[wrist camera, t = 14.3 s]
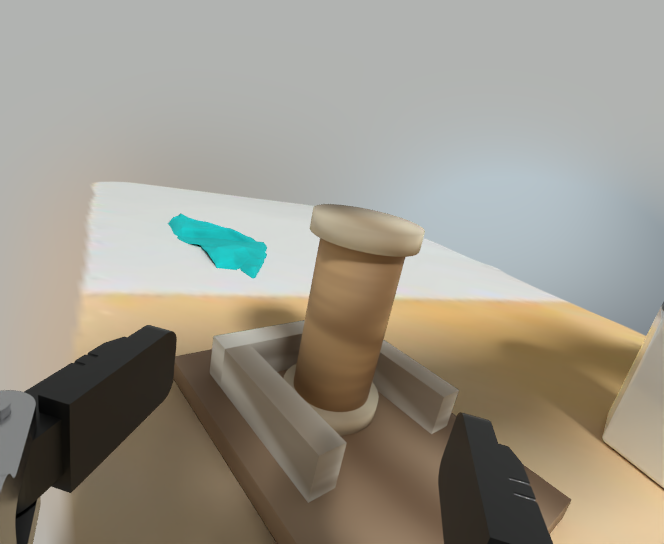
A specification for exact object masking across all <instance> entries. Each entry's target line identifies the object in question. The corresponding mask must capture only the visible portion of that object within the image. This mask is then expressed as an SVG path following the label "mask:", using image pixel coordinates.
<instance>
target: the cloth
mask: <svg viewBox="0 0 664 544" xmlns="http://www.w3.org/2000/svg"><path fill="white" fill-rule="evenodd" d="M168 224H169V226H170V227H171V228H172V231H173V233H174V234H175V235H177V236H178V237H177V238H178V239H179V240H181V241H183V242H186V243H188V244H198V245H201V247H202V248H203V249H204V250H205V251H207V253H208V254H209V256H210V257H211V259H212V260H213V262H214V263H215V265H216V267H217V268H223V269H233V270H237V269H239V268H240V269H241V271H243V272H244V273H246V274H247V275H248V276H250V277H251V278H255V277H256V275H257V273H258V272H259V270H260V268H261V266H262V265H263V263H264V259H265V258H266V256H267V254H266V253H265V251H266V249H267V247H266V245H265V244H264V242H256V241H255V240H253V239H252V238H251V237H247V236H245V235H243V234H241V233H240V232H237V231H235V230H233V229H230V228H224V227H221V226H218V225H215V224H212V223H208V222H203V221H197V220H194V219H191V218H188V217H186V216H184V215H183V214H180V215H179V216H176V217H173V218H172V219H171V221H170V222H169V223H168Z"/></svg>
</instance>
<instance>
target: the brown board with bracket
mask: <svg viewBox="0 0 664 544" xmlns="http://www.w3.org/2000/svg"><path fill="white" fill-rule="evenodd" d="M304 322H305V320H303V321H297V322H292V323H286V324H280V325H274V326H269V327H263V328H257V329H251V330H246V331H240V332H234V333H228V334H223V335H217V336H214V337H213V346H212V349H211V350H206V351H201V352H196V353H191V354H186V355H181V356H176V357H175V365H174V378H173V379H174V380H175V382H176V383H177V385H178V387H179V388H180V390H181V391H182V393H183V394H184V396H185V398H186V399H187V401H188V402H189V404H190V406H191V407H192V409H193V410H194V412H195V414H196V415H197V417H198V418H199V420H200V422H201V423H202V425H203V426H204V428H205V429H206V431H207V433H208V434H209V436H210V437H211V439H212V441H213V442H214V444H215V445H216V447H217V449H218V450H219V452H220V453H221V455H222V456H223V458H224V460H225V461H226V463H227V464H228V466H229V468H230V469H231V471H232V472H233V474H234V476H235V477H236V479H237V480H238V482H239V484H240V485H241V487H242V488H243V490H244V491H245V493H246V495H247V496H248V498H249V499H250V501H251V503H252V504H253V506H254V507H255V509H256V511H257V512H258V514H259V515H260V517H261V518H262V520H263V522H264V523H265V525H266V526H267V528H268V530H269V531H270V533H271V534H272V536H273V538H274V539H275V541H276V542H277V544H444V539H443V528H442V518H441V508H440V497H439V487H438V475H439V468H440V463H441V459H442V456H443V453H444V450H445V447H446V445H447V442H448V439H449V436H450V433H451V431H452V428H453V425H454V422H455V419H456V417H457V416H455V415H454V414H453V413H451V412H452V409H453V406H454V403H455V401H456V398H457V395H458V392H459V390H458V389H457V388H455V387H454V386H452V385H451V384H449V383H448V382H446V381H445V380H443V379H442V378H440V377H439V376H437V375H436V374H434V373H433V372H431V371H430V370H428V369H427V368H425V367H424V366H422V365H421V364H419V363H418V362H416V361H415V360H413V359H412V358H410V357H409V356H407V355H406V354H404V353H403V352H401V351H400V350H398V349H397V348H395V347H394V346H392V345H391V344H389V343H388V342H386V341H385V340H383V343H382V347H381V350H380V354H379V358H378V362H377V365H376V369H375V373H374V377H373V381H372V382H373V383H374V385H375V386H376V388H377V391H378V396H379V398H378V403H377V407H376V411H375V414H374V418H373V420H372V422H371V423H370V424H369V425H368V426H367V427H366V428H365V429H363V430H361V431H359V432H357V433H354V434H350V435H339V434H338V433H337V432H336V431H335V430H334V429H333V428H332V427H331V426H330V425H329V424H328V423H327V422H326V421H325V420H324V419H323V418H322V417H321V416H320V415H319V414H318V413H317V412H316V411H315V410H314V409H313V408H312V407H311V406H310V405H309V404H308V403H307V402H306V401H305V400H304V399H303V398H302V397H301V396H300V395H299V394H298V393H297V392H296V391H295V390H294V389H293V388H292V387H291V386H290V385H289V384H288V383H287V382H286V381H285V380H284V379H283V378H284V375H285V373H286V371H287V370H288V369H289V368H290V367H291V366H293V365H294V364H296V363H297V359H298V354H299V349H300V343H301V338H302V333H303V327H304ZM523 466H524V465H523ZM524 469H525V471H526V474H527V476H528V479H529V482H530V486H531V487H532V490H533V492H534V495H535V498H536V500H535V501H536V502H537V503H538V505H539V508H540V511H541V513H542V516H543V519H544V521H545V524H546V526H547V529H548V532H549V534H550V533H551V531H552V530H553V529H554V528H555V526H556V525H557V524H558V523H559V521H560V520H561V519H562V518H563V516H564V514H565V512H566V510H567V508H568V506H569V504H570V502H571V499H570V498H568V497H567V496H566V495H564V494H563V493H561V492H560V491H559V490H557V489H556V488H555V487H553V486H552V485H550V484H549V483H548V482H546V481H545V480H544V479H542V478H541V477H539V476H538V475H537V474H535V473H534V472H533V471H531V470H530V469H528V468H527V467H526V466H524Z"/></svg>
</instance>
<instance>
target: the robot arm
mask: <svg viewBox="0 0 664 544" xmlns="http://www.w3.org/2000/svg"><path fill="white" fill-rule="evenodd" d="M175 353H176V334H175V333H174V332H172V331H169V330H165V329H161V328H158V327H154V326H151V325H147V326H145V327H143V328H141V329H140V330H138V331H137V332H135V333H134V334H132V335H130V336H129V337H122V338H119V339H116V340H112V341H109V342H106V343H103V344H102V345H100V346H98V347H97V348H95V349H94V350H92V351H90V352H89V353H88V355H84V356H82V357H80V358H79V359H77V360H76V361H75V363H71V364H69V365H67V366H66V367H64V368H62V369H61V370H59V371H58V372H56V373H54V374H53V375H51V376H49V377H48V378H46V379H44V380H43V381H41V382H40V383H38V384H36V385H35V386H33V387H31V388H30V389H28V390H26V391H25V392H21V391H14V390H6V391H0V544H33V540H34V535H35V529H36V525H37V520H38V515H39V510H40V496H41V495H42V494H43V493H44V492H45V491H47V490H48V489H49V488H50V487H51V486H52V487H55V488H58V489H61V490H63V491H66V492H69V493H71V492H72V491H73V490H74V489H75V488H76V487H77V486H78V485H79V484H80V483H81V482H83V481H84V480H85V479H86V478H87V477H88V476H89V475H90V474H91V473H92V472H93V471H94V470H95V469H96V468H97V467H98V466H99V465H100V464H101V463H102V462H103V461H104V460H105V459H106V458H107V457H108V456H109V455H110V454H111V453H112V452H113V451H114V450H115V449H116V448H117V447H118V446H119V445H120V444H121V443H122V442H123V441H124V440H125V439H126V438H127V437H128V436H129V435H130V434H131V433H132V432H133V431H134V430H135V429H136V428H137V427H138V426H139V425H140V424H141V423H142V422H143V421H144V420H145V419H146V418H147V417H148V416H149V415H150V414H151V413H152V412H153V411H154V410H155V409H156V408H157V407H158V406H159V405H160V404H161V403H162V402H163V401H164V399H165V398H166V397H167V395H168V393H169V391H170V389H171V386H172V383H173V378H174V365H175ZM438 487H439V497H440V508H441V518H442V528H443V539H444V544H553V542H552V540H551V537H550V534H549V532H548V529H547V526H546V524H545V521H544V519H543V516H542V513H541V511H540V508H539V505H538V503H537V502H536V501H535V500H536V498H535V495H534V492H533V490H532V487H531V486H530V482H529V479H528V476H527V474H526V471H525V469H524V466H523V464H522V463H521V461H520V460H519V459H518V458H517V457H516V455H515V454H514V453H513V452H512V450H511V449H510V448H509V447H508V446H505V445H501V444H498V442H497V439H496V436H495V433H494V430H493V426H492V424H491V422H490V421H489V420H486V419H483V418H479V417H476V416H472V415H468V414H465V413H461V412H460V413H459V414H458V415H457V417H456V419H455V422H454V425H453V428H452V431H451V433H450V436H449V439H448V442H447V445H446V447H445V450H444V453H443V456H442V459H441V463H440V468H439V475H438Z"/></svg>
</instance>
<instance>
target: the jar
mask: <svg viewBox="0 0 664 544" xmlns="http://www.w3.org/2000/svg"><path fill="white" fill-rule="evenodd" d="M602 439H603V441H604V442H605V443H606V444H608V445H609V446H610V447H612V448H613V449H614V450H615V451H617V452H618V453H619V454H620V455H622V456H623V457H624V458H626V459H627V460H628V461H629V462H631V463H632V464H633V465H635V466H636V467H637V468H638V469H640V470H641V471H642V472H643V473H645V474H646V475H647V476H649V477H650V478H651V479H652V480H654V481H655V482H656V483H657V484H659V485H660V486H661V487H663V488H664V302H663V304H662V306H661V308H660V310H659V312H658V314H657V316H656V318H655V320H654V322H653V324H652V326H651V328H650V330H649V332H648V334H647V336H646V338H645V340H644V342H643V344H642V346H641V348H640V350H639V352H638V354H637V356H636V358H635V360H634V362H633V364H632V366H631V368H630V370H629V372H628V374H627V376H626V378H625V380H624V382H623V384H622V386H621V388H620V390H619V392H618V394H617V396H616V398H615V400H614V402H613V404H612V406H611V408H610V410H609V412H608V417H607V421H606V425H605V429H604V433H603V436H602Z"/></svg>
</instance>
